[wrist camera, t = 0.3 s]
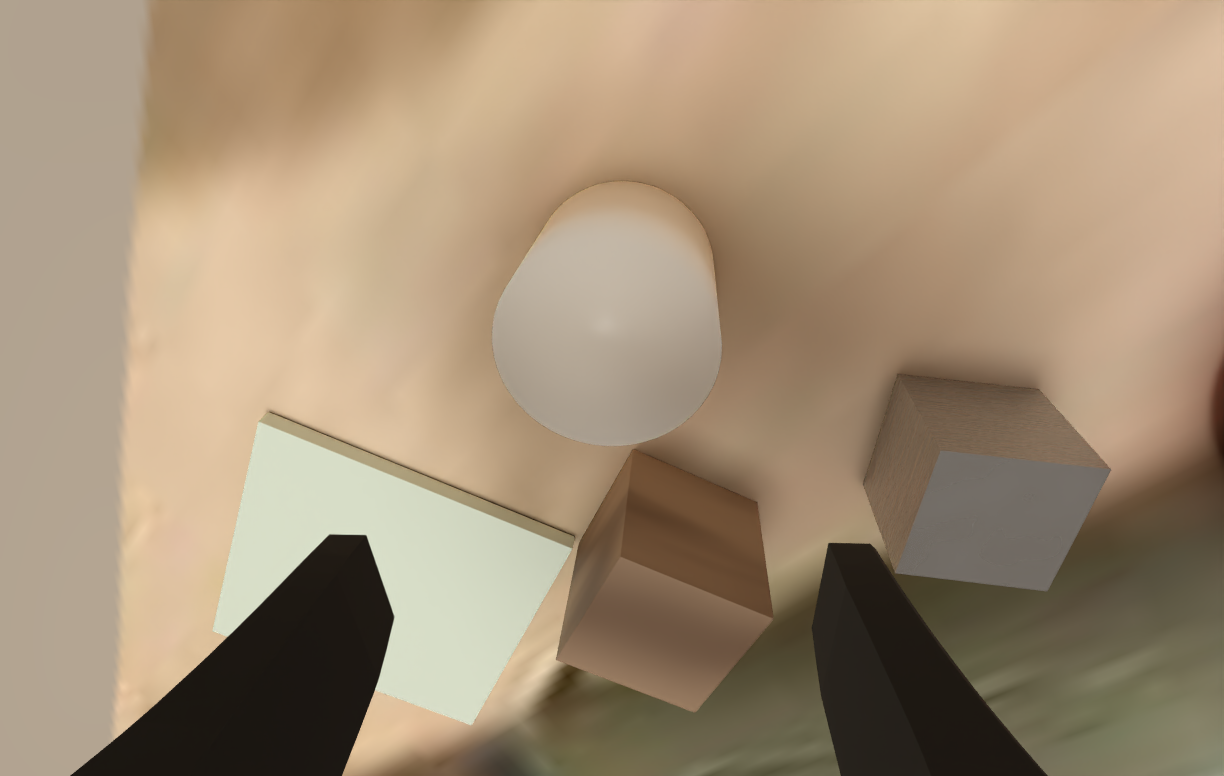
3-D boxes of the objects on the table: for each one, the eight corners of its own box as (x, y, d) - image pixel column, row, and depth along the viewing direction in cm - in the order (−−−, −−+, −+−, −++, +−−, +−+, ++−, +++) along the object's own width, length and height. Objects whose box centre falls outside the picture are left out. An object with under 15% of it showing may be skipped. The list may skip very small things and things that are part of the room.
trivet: (475, 712, 30) (471, 725, 29) (221, 619, 28) (212, 631, 28) (574, 536, 24) (572, 548, 24) (268, 412, 23) (258, 421, 22)
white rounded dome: (664, 378, 21) (658, 476, 17) (510, 309, 20) (462, 393, 16) (747, 230, 19) (766, 301, 14) (575, 148, 18) (540, 194, 14)
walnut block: (693, 589, 25) (695, 712, 21) (578, 542, 24) (555, 659, 20) (756, 501, 23) (773, 618, 19) (633, 448, 22) (620, 556, 18)
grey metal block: (990, 497, 22) (1047, 590, 19) (862, 483, 22) (895, 573, 19) (1037, 388, 20) (1111, 469, 17) (896, 372, 20) (940, 450, 17)
